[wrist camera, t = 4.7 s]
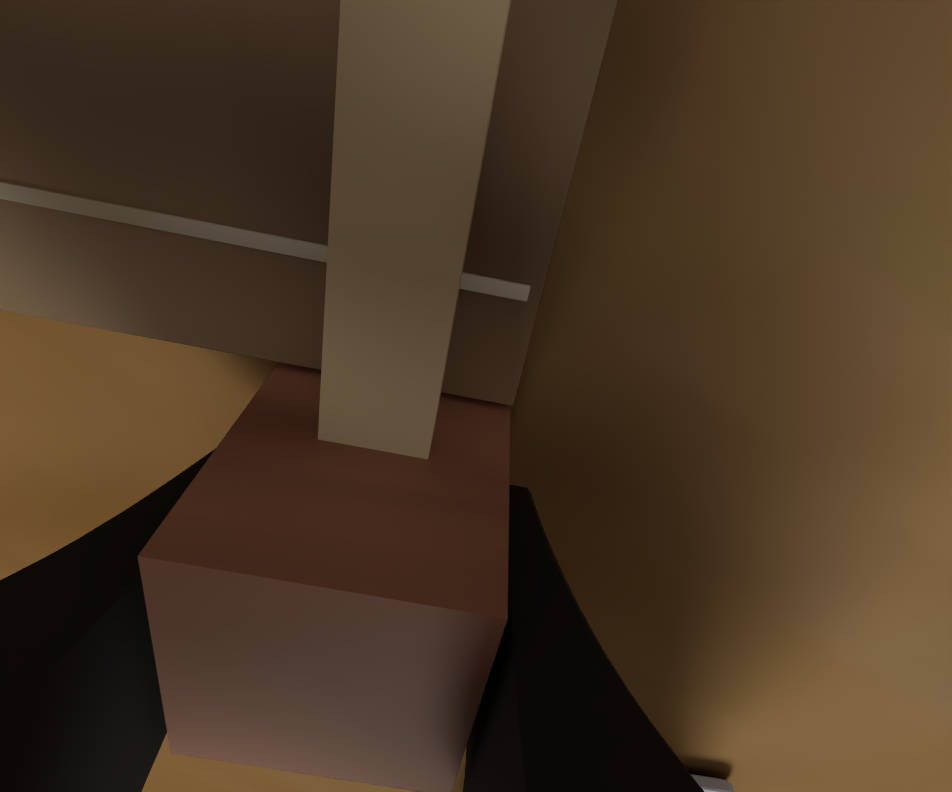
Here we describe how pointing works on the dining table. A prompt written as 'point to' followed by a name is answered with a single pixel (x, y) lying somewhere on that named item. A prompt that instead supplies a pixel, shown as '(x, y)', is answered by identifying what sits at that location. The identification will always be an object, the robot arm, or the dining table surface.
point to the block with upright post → (357, 458)
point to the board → (256, 173)
